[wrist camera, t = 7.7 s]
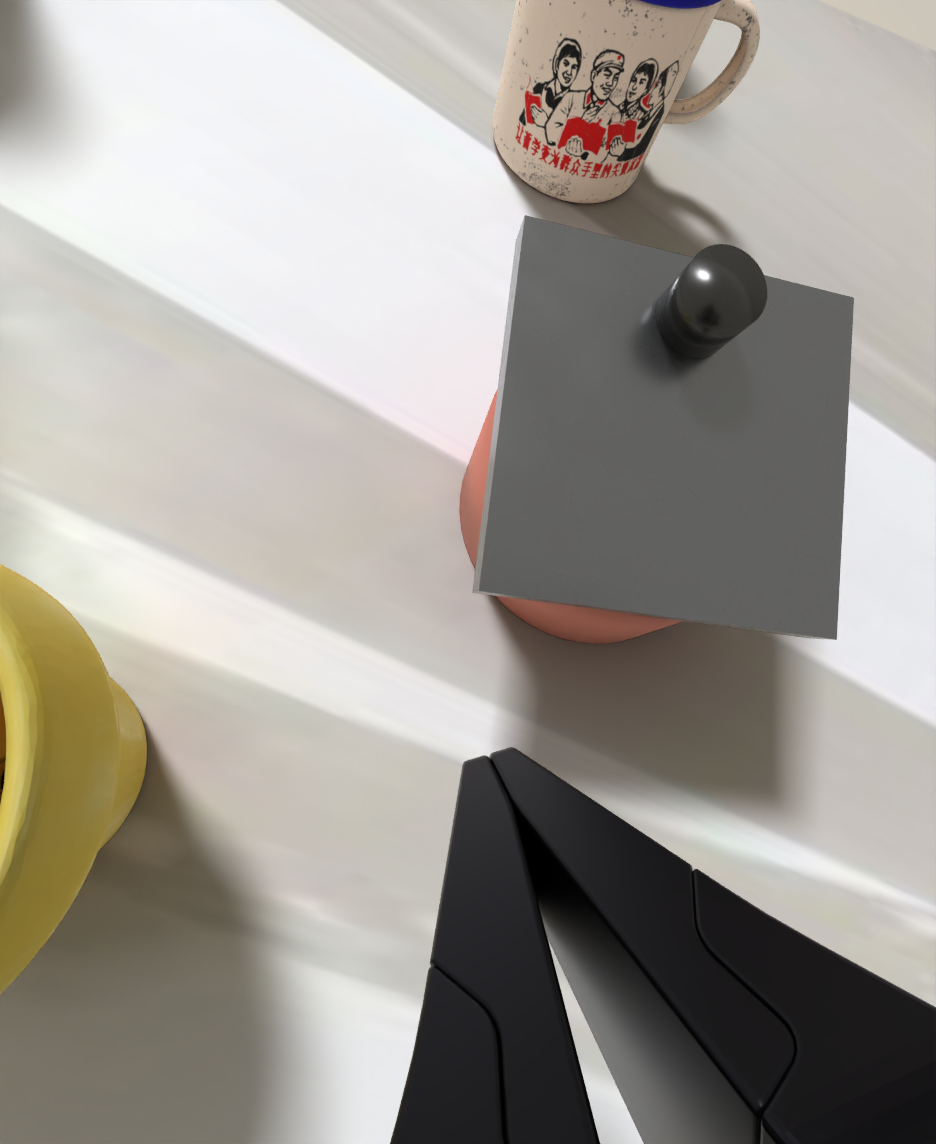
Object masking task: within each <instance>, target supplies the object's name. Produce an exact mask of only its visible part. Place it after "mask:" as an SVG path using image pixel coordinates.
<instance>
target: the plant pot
mask: <svg viewBox="0 0 936 1144" xmlns="http://www.w3.org/2000/svg"><path fill="white" fill-rule="evenodd" d="M146 761H147V743H146V735H145V729H144V725H143V722H142V719H141V717H140V714H139V712H138V710H137V708H136V706H135V704H134V703H133V701H132V699H131V698H130V697H129V696H128V694H127V693H126V692H125V691H124V689H123V688H121V687H120V686H119V685H118V684H117V683H116V682H115V681H114V680H113V679H112V678H111V677H109V675H108V672H107V670H106V668H105V666H104V663H103V661H102V659H101V657H100V655H99V653H98V651H97V649H96V648H95V646H94V644H93V643H92V641H91V639H90V638H89V636H88V635H87V633H86V632H85V630H84V629H83V628H82V626H81V625H80V624H79V623H78V622H77V620H76V619H75V618H74V617H73V615H72V614H71V613H70V612H69V611H68V610H67V609H66V608H65V607H64V606H63V605H61V604H60V603H59V602H58V601H57V600H56V599H55V598H53V597H52V596H51V595H49V594H48V593H47V592H46V591H44V590H43V589H42V588H40V587H39V586H37V585H36V584H34V583H33V582H31V581H30V580H28V579H27V578H25V577H23V576H21V575H20V574H18V573H16V572H14V571H12V570H10V569H9V568H7V567H5V566H3V565H1V564H0V994H1V993H2V992H3V991H4V990H5V989H6V988H7V987H8V986H9V985H10V984H11V983H12V982H13V981H14V980H15V979H16V978H17V977H18V976H19V975H20V973H21V972H22V971H23V970H24V969H25V968H26V967H27V965H28V964H29V963H30V962H31V960H32V959H33V958H34V957H35V955H36V954H37V953H38V952H39V950H40V949H41V948H42V947H43V945H44V944H45V943H46V942H47V940H48V939H49V938H50V936H51V935H52V933H53V932H54V931H55V929H56V928H57V926H58V925H59V923H60V922H61V920H62V919H63V918H64V916H65V914H66V913H67V911H68V909H69V908H70V906H71V904H72V903H73V901H74V900H75V898H76V896H77V894H78V893H79V891H80V889H81V887H82V885H83V883H84V881H85V879H86V877H87V875H88V873H89V871H90V869H91V867H92V865H93V862H94V860H95V858H96V856H97V853H98V851H99V850H100V849H101V848H102V847H103V846H104V845H105V844H106V843H107V842H108V841H109V840H110V839H111V838H112V837H113V836H114V834H115V833H116V832H117V831H118V829H119V828H120V827H121V825H122V824H123V823H124V821H125V819H126V818H127V816H128V814H129V813H130V811H131V809H132V807H133V805H134V803H135V801H136V799H137V797H138V795H139V792H140V789H141V786H142V783H143V779H144V775H145V769H146ZM4 770H5V777H4V787H3V791H2V789H1V777H2V774H3V772H4Z"/></svg>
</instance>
